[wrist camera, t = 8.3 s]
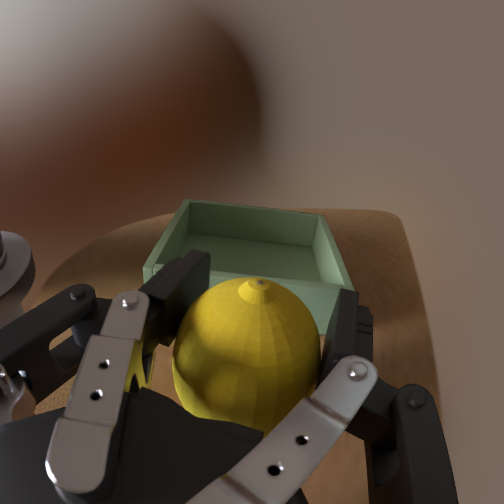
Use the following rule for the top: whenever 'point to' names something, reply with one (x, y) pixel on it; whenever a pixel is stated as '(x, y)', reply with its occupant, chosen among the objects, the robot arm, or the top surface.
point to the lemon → (246, 353)
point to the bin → (259, 250)
